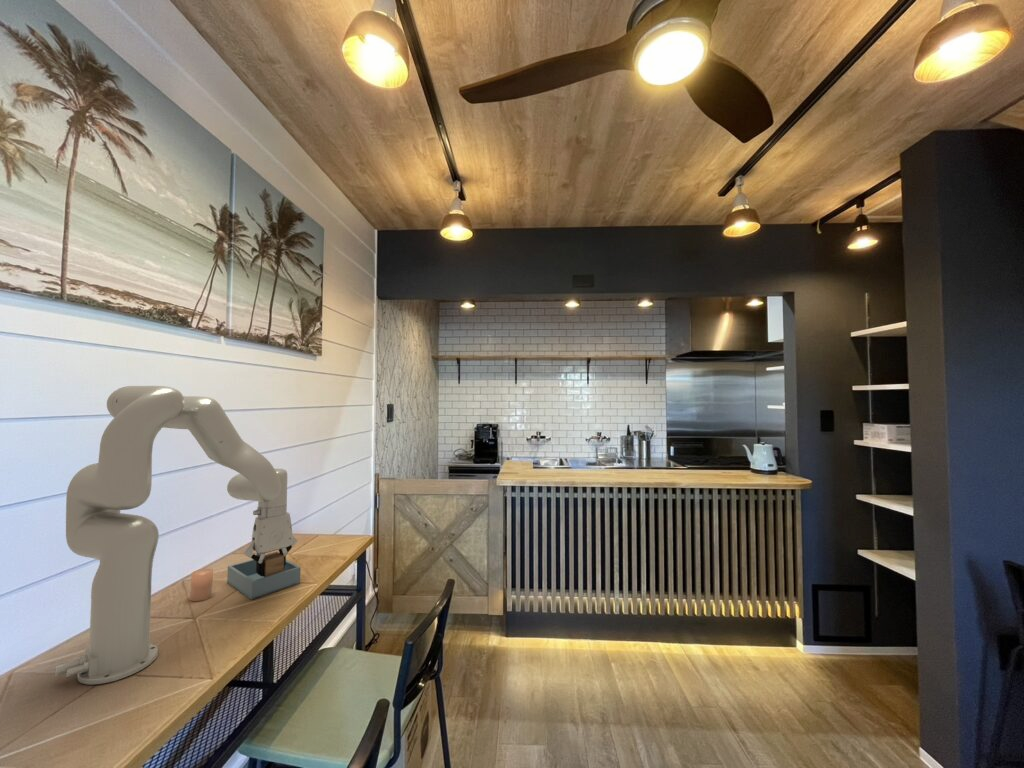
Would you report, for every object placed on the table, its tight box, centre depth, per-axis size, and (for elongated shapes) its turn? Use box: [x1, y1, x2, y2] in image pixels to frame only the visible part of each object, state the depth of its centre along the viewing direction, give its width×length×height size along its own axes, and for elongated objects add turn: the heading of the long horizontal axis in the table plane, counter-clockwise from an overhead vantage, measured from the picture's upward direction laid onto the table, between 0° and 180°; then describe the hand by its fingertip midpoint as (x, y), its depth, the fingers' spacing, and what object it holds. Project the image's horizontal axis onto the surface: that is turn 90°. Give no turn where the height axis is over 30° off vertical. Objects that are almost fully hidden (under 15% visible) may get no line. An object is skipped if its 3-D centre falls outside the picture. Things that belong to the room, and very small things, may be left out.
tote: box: [226, 559, 302, 601], centre depth 130 cm, size 14×18×5 cm
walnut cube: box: [263, 551, 284, 577], centre depth 128 cm, size 5×5×5 cm
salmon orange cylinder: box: [189, 568, 214, 602], centre depth 121 cm, size 5×5×7 cm
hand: (271, 571), depth 128 cm, fingers closed on walnut cube, 4 cm apart
